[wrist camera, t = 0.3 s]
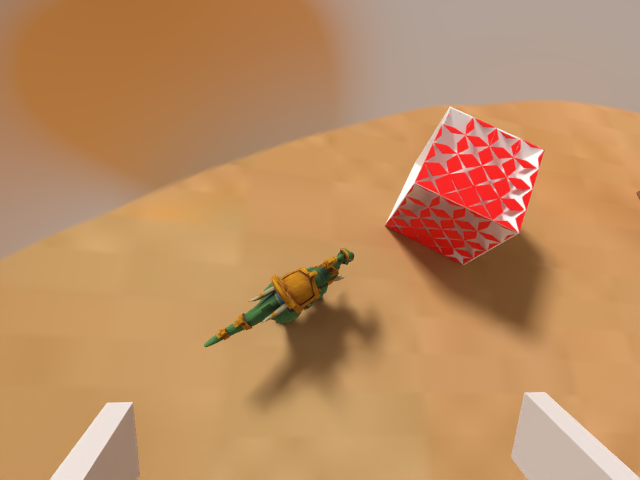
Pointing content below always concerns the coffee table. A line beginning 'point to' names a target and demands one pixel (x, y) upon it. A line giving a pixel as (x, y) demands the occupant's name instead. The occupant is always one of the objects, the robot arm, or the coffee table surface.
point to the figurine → (288, 295)
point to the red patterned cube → (467, 188)
